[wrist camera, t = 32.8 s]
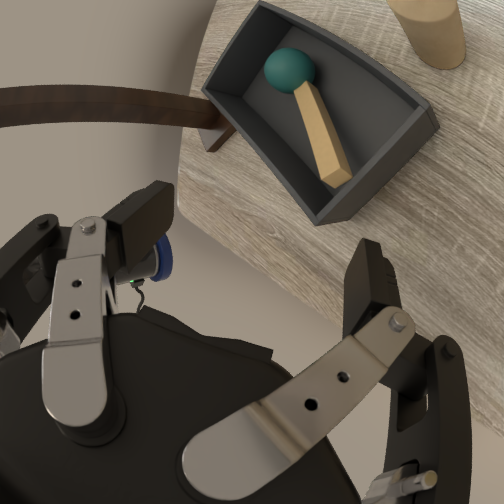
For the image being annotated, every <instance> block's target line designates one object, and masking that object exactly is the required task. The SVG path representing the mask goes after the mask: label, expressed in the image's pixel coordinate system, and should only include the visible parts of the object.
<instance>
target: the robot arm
mask: <svg viewBox="0 0 504 504" xmlns="http://www.w3.org/2000/svg"><path fill="white" fill-rule="evenodd" d="M173 217H174V185H173V184H171V183H167V182H162V181H158V180H156V181H154V182H153V183H152V184H150V185H149V186H147V187H146V188H145V189H144V188H143V189H141V190H138V191H135V192H133V193H132V194H130V195H129V196H128V197H126V199H124V200H122V201H121V202H120V204H117V205H116V206H115V207H113V208H112V209H111V210H110V211H108V212H107V213H106V214H104V215H103V216H102V217H96V216H93V217H92V216H91V217H86V218H83V219H80V220H79V221H77V222H76V223H75V224H74V225H73V226H72V227H61V226H59V222H58V217H57V216H56V215H54V214H44V215H41V216H39V217H37V218H35V219H34V220H33V221H31V222H30V223H29V224H28V225H26V226H25V227H24V228H23V229H22V230H21V231H19V232H18V233H17V234H16V235H15V236H14V237H13V238H12V239H10V240H9V241H8V242H7V243H6V244H5V245H4V246H3V247H2V248H1V249H0V504H469V497H470V487H471V473H472V470H471V469H472V429H471V412H470V401H469V392H468V384H467V377H466V370H465V364H464V358H463V354H462V350H461V348H460V346H459V345H458V344H457V342H456V341H455V340H454V339H452V338H451V337H449V336H446V335H440V336H438V337H437V338H436V339H435V340H434V341H433V342H431V341H429V340H428V339H426V338H424V337H422V336H421V335H419V334H417V333H416V332H415V331H416V327H415V323H414V321H413V319H412V318H411V316H410V315H409V314H408V313H407V312H405V311H404V310H403V309H402V306H401V300H400V295H399V290H398V286H397V280H396V279H395V278H396V275H395V271H394V267H393V266H392V264H391V263H390V261H389V260H388V259H387V258H384V257H383V255H382V250H381V246H380V243H377V242H374V241H371V240H368V239H365V238H362V239H361V240H360V242H359V244H358V246H357V248H356V251H355V253H354V255H353V257H352V259H351V261H350V263H349V265H348V268H347V270H346V273H345V278H344V311H343V337H342V341H340V342H339V343H338V344H337V345H335V346H334V347H333V348H332V349H331V350H329V351H328V352H327V353H325V354H324V355H323V356H322V357H320V358H319V359H318V360H316V361H315V362H314V363H312V364H311V365H310V366H309V367H307V368H306V369H304V370H303V371H302V372H301V373H299V374H298V375H297V376H295V377H293V376H292V375H291V374H290V373H289V372H288V371H287V370H286V369H284V368H283V367H282V366H280V365H279V364H278V363H276V362H274V361H273V360H271V358H272V354H273V350H272V349H269V348H266V347H262V346H259V345H255V344H252V343H248V342H246V341H242V340H238V339H229V338H219V337H211V336H204V335H201V334H199V333H198V332H196V331H194V330H193V329H191V328H190V327H188V326H187V325H185V324H184V323H182V322H181V321H179V320H178V319H176V318H175V317H173V316H171V315H168V314H166V313H163V312H161V311H158V310H156V309H153V308H151V307H148V306H146V305H144V306H143V307H142V309H141V310H140V307H141V306H142V304H143V302H144V294H143V292H142V291H141V290H139V289H138V286H141V285H143V283H144V281H145V280H144V279H145V278H148V277H152V276H156V275H157V274H158V273H159V270H160V264H161V260H160V252H159V248H158V245H157V242H158V240H159V239H160V238H161V237H162V236H163V235H164V234H165V233H166V232H167V231H168V229H169V228H170V226H171V224H172V221H173ZM128 282H130V284H131V286H132V288H135V289H136V291H137V292H138V293H140V294H141V302H140V303H139V305H138V308H137V312H136V313H118V302H117V288H116V285H120V284H124V283H128ZM50 304H51V312H50V323H49V336H48V339H45V340H42V341H40V342H37V343H34V344H32V345H29V346H26V347H24V348H21V349H20V345H21V343H22V342H23V340H24V338H25V337H26V336H27V334H28V333H29V332H30V330H31V329H32V327H33V326H34V325H35V323H36V322H37V321H38V319H39V318H40V317H41V315H42V314H43V313H44V312H45V310H46V309H47V308H48V306H49V305H50ZM139 311H140V312H139ZM378 382H379V383H381V384H383V385H385V386H387V387H389V388H391V402H390V417H389V429H388V439H387V448H386V455H385V463H384V469H383V473H382V474H380V475H378V476H377V477H376V478H375V479H374V480H373V481H372V483H371V485H370V487H369V490H368V491H367V493H366V496H365V497H364V499H363V500H362V501H361V498H360V495H359V494H358V492H357V490H356V488H355V486H354V484H353V483H352V481H351V479H350V477H349V475H348V474H347V472H346V470H345V468H344V466H343V465H342V463H341V461H340V459H339V457H338V455H337V454H336V452H335V450H334V448H333V446H332V445H331V443H330V441H329V439H328V437H327V434H328V433H329V432H330V431H331V430H332V429H333V428H334V427H335V426H337V425H338V424H339V423H340V422H341V421H342V420H343V419H344V418H345V417H346V416H347V415H348V414H349V413H350V412H351V411H352V410H353V409H354V408H355V407H356V406H357V405H358V404H359V403H360V402H361V401H362V399H363V398H364V397H365V396H366V395H367V394H368V393H369V392H370V391H371V390H372V389H373V387H374V386H375V385H376V384H377V383H378ZM427 394H428V410H427V398H426V395H427Z"/></svg>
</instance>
